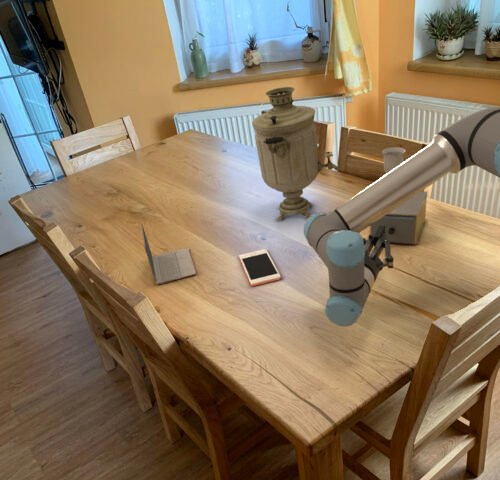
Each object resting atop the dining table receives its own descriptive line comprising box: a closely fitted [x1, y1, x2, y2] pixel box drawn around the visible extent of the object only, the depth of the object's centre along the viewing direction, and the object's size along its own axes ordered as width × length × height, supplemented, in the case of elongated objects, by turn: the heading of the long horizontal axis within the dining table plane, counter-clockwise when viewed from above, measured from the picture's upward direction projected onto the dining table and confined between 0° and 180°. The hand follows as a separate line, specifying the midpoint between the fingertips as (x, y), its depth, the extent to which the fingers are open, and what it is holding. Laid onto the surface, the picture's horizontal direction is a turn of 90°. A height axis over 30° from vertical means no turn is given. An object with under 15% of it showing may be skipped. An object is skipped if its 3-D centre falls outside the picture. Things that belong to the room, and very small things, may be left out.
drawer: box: [371, 215, 415, 245], centre depth 149 cm, size 16×12×8 cm
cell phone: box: [238, 248, 282, 287], centre depth 148 cm, size 9×18×1 cm, turn 12°
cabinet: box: [369, 190, 428, 246], centre depth 151 cm, size 16×14×10 cm
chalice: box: [381, 146, 406, 175], centre depth 163 cm, size 7×7×18 cm
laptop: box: [140, 222, 197, 285], centre depth 153 cm, size 18×13×13 cm
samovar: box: [251, 86, 340, 222], centre depth 161 cm, size 30×26×40 cm
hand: (382, 229), depth 132 cm, fingers closed
